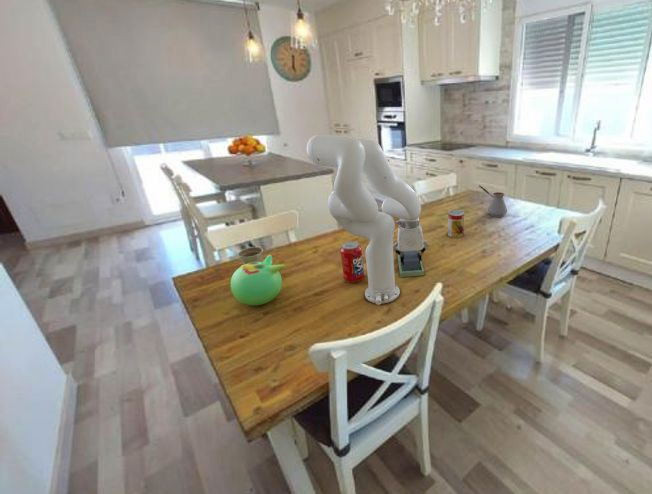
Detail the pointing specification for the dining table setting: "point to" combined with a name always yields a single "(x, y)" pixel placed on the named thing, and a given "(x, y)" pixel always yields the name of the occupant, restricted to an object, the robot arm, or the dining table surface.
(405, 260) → the pad slate
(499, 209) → the coffee pot
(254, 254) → the flower pot
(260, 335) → the dining table surface
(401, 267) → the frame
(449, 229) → the canned food
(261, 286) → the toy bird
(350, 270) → the soda can
